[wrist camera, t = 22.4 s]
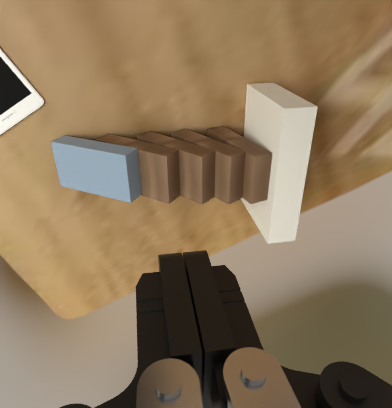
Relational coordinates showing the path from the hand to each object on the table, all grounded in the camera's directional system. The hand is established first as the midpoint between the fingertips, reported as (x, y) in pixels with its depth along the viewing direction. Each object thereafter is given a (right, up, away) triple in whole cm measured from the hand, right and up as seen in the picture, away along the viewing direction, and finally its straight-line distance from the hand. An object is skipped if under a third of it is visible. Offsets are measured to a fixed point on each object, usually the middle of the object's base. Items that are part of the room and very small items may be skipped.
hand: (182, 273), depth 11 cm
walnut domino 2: (-5, +8, +28) cm, 29 cm away
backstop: (+7, +9, +30) cm, 33 cm away
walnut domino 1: (-9, +7, +27) cm, 30 cm away
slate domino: (-14, +7, +26) cm, 30 cm away
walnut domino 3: (-2, +8, +28) cm, 30 cm away
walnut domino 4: (+3, +9, +29) cm, 31 cm away
